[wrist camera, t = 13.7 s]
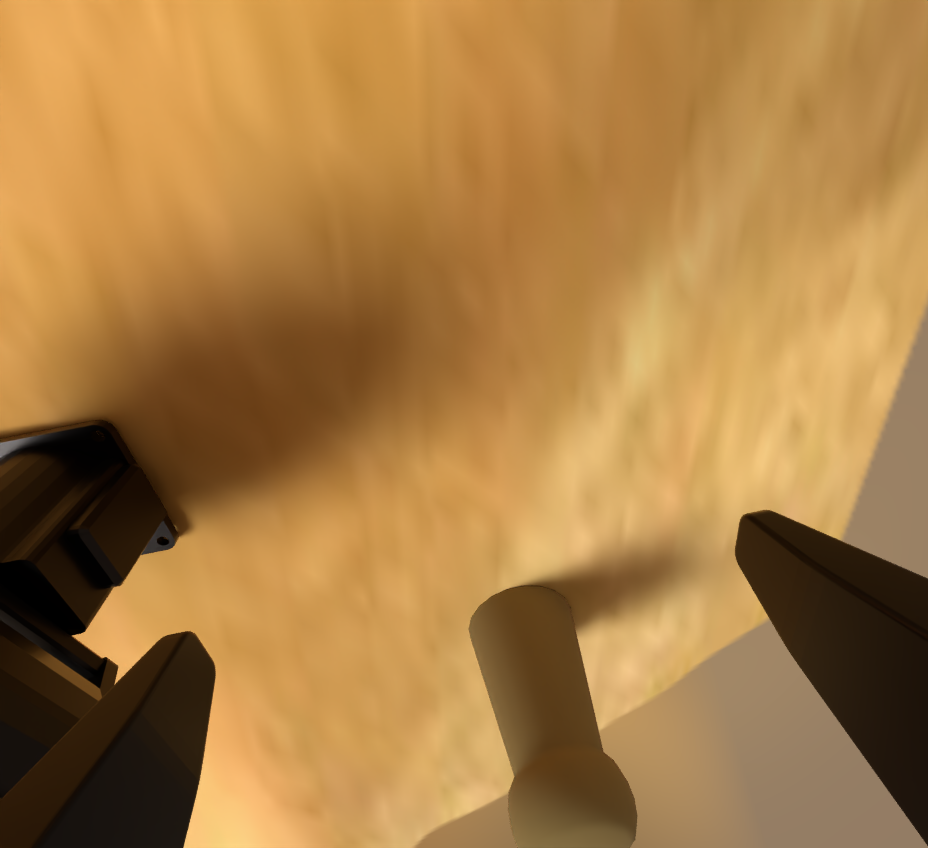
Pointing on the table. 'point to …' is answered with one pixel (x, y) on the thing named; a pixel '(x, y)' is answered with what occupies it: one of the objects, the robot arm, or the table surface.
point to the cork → (549, 725)
